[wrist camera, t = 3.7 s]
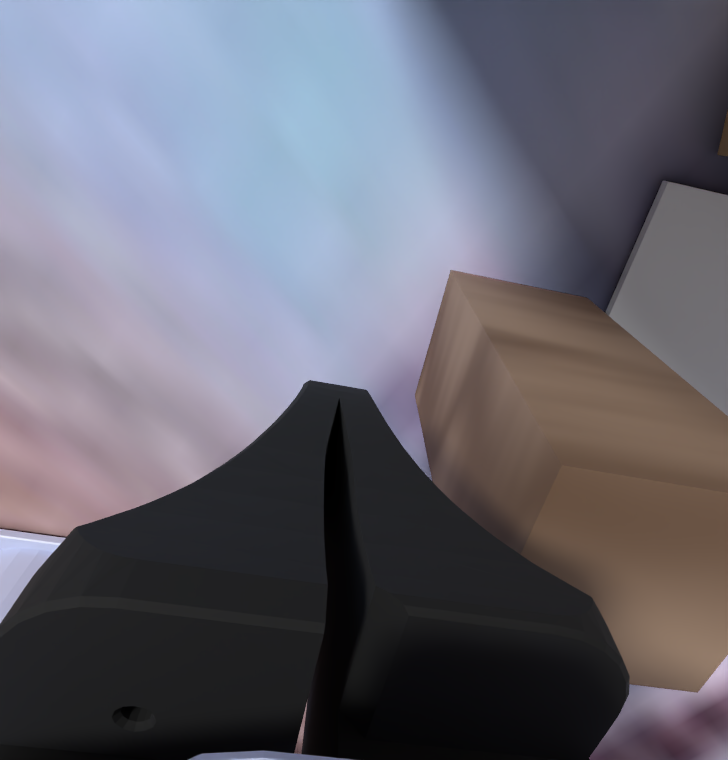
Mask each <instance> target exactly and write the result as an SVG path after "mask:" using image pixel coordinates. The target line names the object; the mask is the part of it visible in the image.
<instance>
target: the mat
mask: <svg viewBox="0 0 728 760" xmlns="http://www.w3.org/2000/svg"><path fill="white" fill-rule="evenodd" d="M605 313H606V314H607V315H608V316H609V317H611V318H612V319H613V320H614V321H615V322H616V323H618V324H619V325H620V326H621V327H622V328H624V329H625V330H626V331H627V332H628V333H630V334H631V335H632V336H633V337H634V338H635V339H637V340H638V341H639V342H640V343H641V344H643V345H644V346H645V347H646V348H647V349H649V350H650V351H651V352H652V353H653V354H654V355H656V356H657V357H658V358H659V359H660V360H662V361H663V362H664V363H665V364H666V365H668V366H669V367H670V368H671V369H672V370H673V371H675V372H676V373H677V374H678V375H679V376H681V377H682V378H683V379H684V380H685V381H687V382H688V383H689V384H690V385H691V386H692V387H694V388H695V389H696V390H697V391H698V392H700V393H701V394H702V395H703V396H704V397H706V398H707V399H708V400H709V401H710V402H711V403H713V404H714V405H715V406H716V407H717V408H719V409H720V410H721V411H722V412H723V413H725V414H726V415H727V416H728V195H724V194H720V193H716V192H711V191H707V190H703V189H698V188H694V187H690V186H685V185H681V184H677V183H672V182H668V181H664V180H663V181H662V184H661V186H660V188H659V191H658V193H657V195H656V197H655V200H654V202H653V204H652V207H651V209H650V211H649V213H648V216H647V218H646V220H645V223H644V225H643V227H642V229H641V232H640V234H639V236H638V239H637V241H636V243H635V245H634V248H633V250H632V252H631V255H630V257H629V259H628V261H627V264H626V266H625V268H624V271H623V273H622V275H621V277H620V280H619V282H618V284H617V287H616V289H615V291H614V293H613V296H612V298H611V300H610V303H609V305H608V307H607V309H606V312H605Z"/></svg>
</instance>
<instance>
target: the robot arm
mask: <svg viewBox="0 0 728 760" xmlns="http://www.w3.org/2000/svg"><path fill="white" fill-rule="evenodd" d="M629 680H630V676H629V673H628V671H627V668H626V666H625V663H624V661H623V659H622V656H621V654H620V652H619V650H618V648H617V646H616V643H615V641H614V639H613V637H612V635H611V632H610V630H609V628H608V626H607V624H606V622H605V620H604V618H603V617H602V615H601V613H600V611H599V609H598V607H597V605H596V604H595V602H594V600H593V598H592V597H591V596H589V595H587V594H585V593H584V592H582V591H580V590H579V589H577V588H575V587H573V586H572V585H570V584H568V583H566V582H565V581H563V580H561V579H559V578H558V577H556V576H554V575H553V574H551V573H549V572H547V571H546V570H544V569H542V568H540V567H539V566H537V565H535V564H534V563H532V562H531V561H529V560H528V559H526V558H525V557H523V556H522V555H520V554H519V553H517V552H516V551H515V550H513V549H512V548H510V547H509V546H507V545H506V544H504V543H503V542H501V541H500V540H499V539H497V538H496V537H495V536H493V535H492V534H491V533H489V532H488V531H487V530H485V529H484V528H483V527H482V526H480V525H479V524H478V523H477V522H476V521H474V520H473V519H472V518H471V517H470V516H468V515H467V514H466V513H465V512H463V511H462V510H461V509H460V508H459V507H458V506H457V505H456V504H454V503H453V502H452V501H451V500H450V499H449V498H448V497H447V496H446V495H445V494H444V493H443V492H442V491H441V490H440V489H439V488H438V487H437V486H436V485H435V484H434V483H433V482H432V481H431V480H430V479H429V478H428V477H427V476H426V475H425V473H424V472H423V471H422V470H421V469H420V468H419V467H418V465H417V464H416V463H415V462H414V460H413V459H412V458H411V457H410V455H409V454H408V453H407V452H406V450H405V449H404V448H403V446H402V445H401V444H400V442H399V441H398V439H397V438H396V436H395V435H394V433H393V432H392V430H391V429H390V427H389V426H388V424H387V423H386V421H385V419H384V418H383V416H382V415H381V413H380V411H379V410H378V408H377V406H376V404H375V403H374V401H373V399H372V397H371V396H370V394H369V393H368V391H367V390H364V389H358V388H352V387H346V386H340V385H335V384H329V383H323V382H317V381H311V380H310V381H308V382H306V383H305V384H304V385H303V387H302V389H301V391H300V392H299V394H298V395H297V397H296V398H295V399H294V401H293V402H292V403H291V404H290V406H289V407H288V408H287V409H286V410H285V411H284V412H283V413H282V415H281V416H280V417H279V418H278V419H277V420H276V421H275V422H274V423H273V424H272V425H271V426H270V427H269V428H268V429H267V430H266V431H265V432H264V433H262V434H261V435H260V436H259V437H258V438H257V439H256V440H255V441H254V442H253V443H251V444H250V445H249V446H248V447H246V448H245V449H244V450H243V451H241V452H240V453H239V454H237V455H236V456H235V457H233V458H232V459H230V460H229V461H228V462H226V463H225V464H223V465H222V466H220V467H219V468H217V469H215V470H214V471H212V472H210V473H209V474H207V475H206V476H204V477H202V478H201V479H199V480H197V481H195V482H194V483H192V484H190V485H188V486H186V487H184V488H181V489H179V490H177V491H175V492H173V493H171V494H169V495H166V496H164V497H162V498H159V499H157V500H154V501H152V502H150V503H147V504H145V505H142V506H139V507H137V508H134V509H131V510H128V511H125V512H122V513H119V514H116V515H113V516H110V517H107V518H104V519H101V520H98V521H95V522H92V523H89V524H85V525H82V526H78V527H76V528H75V529H73V531H72V532H71V533H70V534H69V535H68V536H67V537H66V538H62V537H55V536H48V535H41V534H33V533H26V532H19V531H12V530H4V529H0V760H589V757H590V755H591V754H592V753H593V751H594V750H595V748H596V747H597V745H598V744H599V743H600V741H601V740H602V738H603V737H604V735H605V734H606V733H607V731H608V730H609V728H610V727H611V726H612V724H613V723H614V721H615V720H616V718H617V717H618V715H619V713H620V711H621V709H622V707H623V705H624V703H625V701H626V699H627V697H628V695H629ZM307 699H308V701H307ZM306 703H307V710H306V719H305V728H304V737H303V746H302V754H294V751H295V747H296V743H297V739H298V735H299V731H300V727H301V723H302V719H303V715H304V711H305V707H306Z"/></svg>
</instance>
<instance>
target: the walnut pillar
mask: <svg viewBox="0 0 728 760" xmlns="http://www.w3.org/2000/svg"><path fill="white" fill-rule="evenodd" d="M415 398H416V403H417V408H418V412H419V417H420V422H421V427H422V432H423V437H424V442H425V447H426V452H427V457H428V462H429V467H430V472H431V477H432V481H433V483H434V484H435V485H436V486H437V487H438V488H439V489H440V490H441V491H442V492H443V493H444V494H445V495H446V496H447V497H448V498H449V499H450V500H451V501H452V502H453V503H454V504H456V505H457V506H458V507H459V508H460V509H461V510H462V511H463V512H465V513H466V514H467V515H468V516H470V517H471V518H472V519H473V520H474V521H476V522H477V523H478V524H479V525H480V526H482V527H483V528H484V529H485V530H487V531H488V532H489V533H491V534H492V535H493V536H495V537H496V538H497V539H499V540H500V541H501V542H503V543H504V544H506V545H507V546H509V547H510V548H512V549H513V550H515V551H516V552H517V553H519V554H520V555H522V556H523V557H525V558H526V559H528V560H529V561H531V562H532V563H534V564H535V565H537V566H539V567H540V568H542V569H544V570H546V571H547V572H549V573H551V574H553V575H554V576H556V577H558V578H559V579H561V580H563V581H565V582H566V583H568V584H570V585H572V586H573V587H575V588H577V589H579V590H580V591H582V592H584V593H585V594H587V595H589V596H591V597H592V598H593V600H594V602H595V604H596V605H597V607H598V609H599V611H600V613H601V615H602V617H603V618H604V620H605V622H606V624H607V626H608V628H609V630H610V632H611V635H612V637H613V639H614V641H615V643H616V646H617V648H618V650H619V652H620V654H621V656H622V659H623V661H624V663H625V666H626V668H627V671H628V673H629V676H630V680H629V684H633V685H641V686H649V687H657V688H665V689H673V690H681V691H690V692H698V691H699V690H700V689H701V688H702V686H703V685H704V684H705V683H706V681H707V680H708V679H709V677H710V676H711V675H712V674H713V672H714V671H715V670H716V669H717V667H718V666H719V665H720V664H721V662H722V661H723V660H724V659H725V657H726V656H727V655H728V416H727V415H726V414H725V413H723V412H722V411H721V410H720V409H719V408H717V407H716V406H715V405H714V404H713V403H711V402H710V401H709V400H708V399H707V398H706V397H704V396H703V395H702V394H701V393H700V392H698V391H697V390H696V389H695V388H694V387H692V386H691V385H690V384H689V383H688V382H687V381H685V380H684V379H683V378H682V377H681V376H679V375H678V374H677V373H676V372H675V371H673V370H672V369H671V368H670V367H669V366H668V365H666V364H665V363H664V362H663V361H662V360H660V359H659V358H658V357H657V356H656V355H654V354H653V353H652V352H651V351H650V350H649V349H647V348H646V347H645V346H644V345H643V344H641V343H640V342H639V341H638V340H637V339H635V338H634V337H633V336H632V335H631V334H630V333H628V332H627V331H626V330H625V329H624V328H622V327H621V326H620V325H619V324H618V323H616V322H615V321H614V320H613V319H612V318H611V317H609V316H608V315H607V314H606V313H605V312H603V311H602V310H601V309H600V308H599V307H597V306H596V305H595V304H594V303H593V302H592V301H590V300H589V299H588V298H586V297H581V296H576V295H571V294H566V293H561V292H556V291H551V290H547V289H542V288H537V287H532V286H527V285H522V284H517V283H512V282H507V281H502V280H497V279H492V278H487V277H483V276H478V275H473V274H468V273H463V272H458V271H453V270H451V271H450V274H449V278H448V281H447V285H446V288H445V292H444V295H443V299H442V302H441V306H440V309H439V313H438V316H437V320H436V323H435V327H434V330H433V334H432V337H431V341H430V344H429V348H428V351H427V355H426V358H425V362H424V365H423V369H422V372H421V376H420V379H419V383H418V386H417V390H416V393H415Z"/></svg>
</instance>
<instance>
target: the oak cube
mask: <svg viewBox="0 0 728 760" xmlns="http://www.w3.org/2000/svg"><path fill="white" fill-rule="evenodd" d="M717 155H721V156H728V111H727V115H726V119H725V124H724V128H723V132H722V137H721V141H720V146H719V150H718V154H717Z"/></svg>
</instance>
